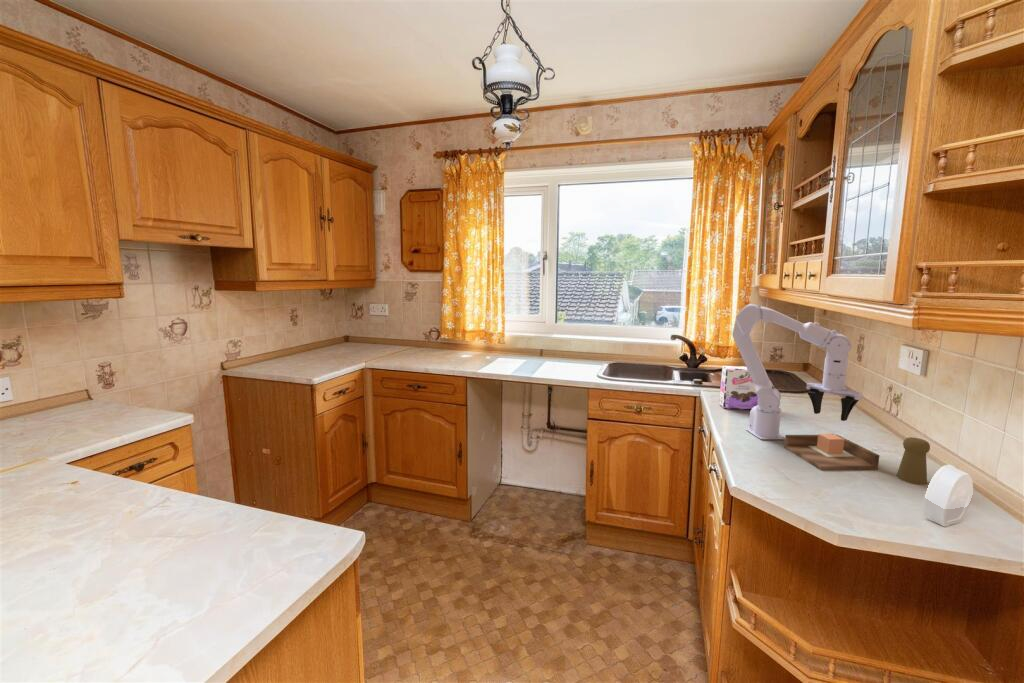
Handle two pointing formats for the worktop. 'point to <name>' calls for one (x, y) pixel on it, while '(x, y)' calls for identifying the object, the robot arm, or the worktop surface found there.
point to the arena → (848, 460)
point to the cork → (914, 461)
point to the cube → (830, 443)
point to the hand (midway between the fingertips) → (830, 416)
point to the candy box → (737, 389)
